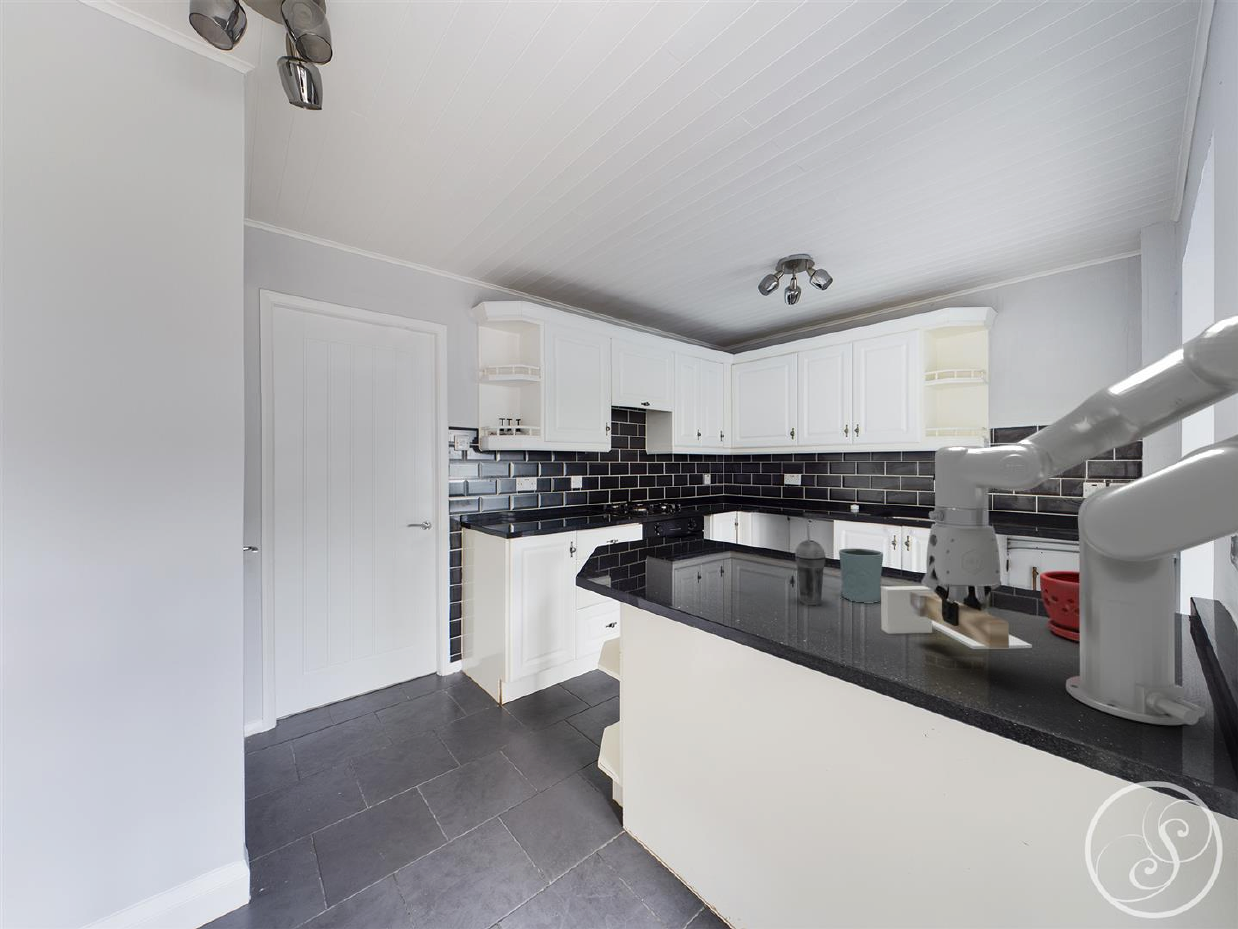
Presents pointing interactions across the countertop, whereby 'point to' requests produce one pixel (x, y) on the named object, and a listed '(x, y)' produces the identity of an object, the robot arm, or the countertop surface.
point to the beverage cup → (810, 570)
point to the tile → (902, 611)
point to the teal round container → (861, 574)
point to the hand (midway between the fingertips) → (961, 622)
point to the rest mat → (973, 644)
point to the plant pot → (1062, 602)
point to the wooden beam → (963, 620)
